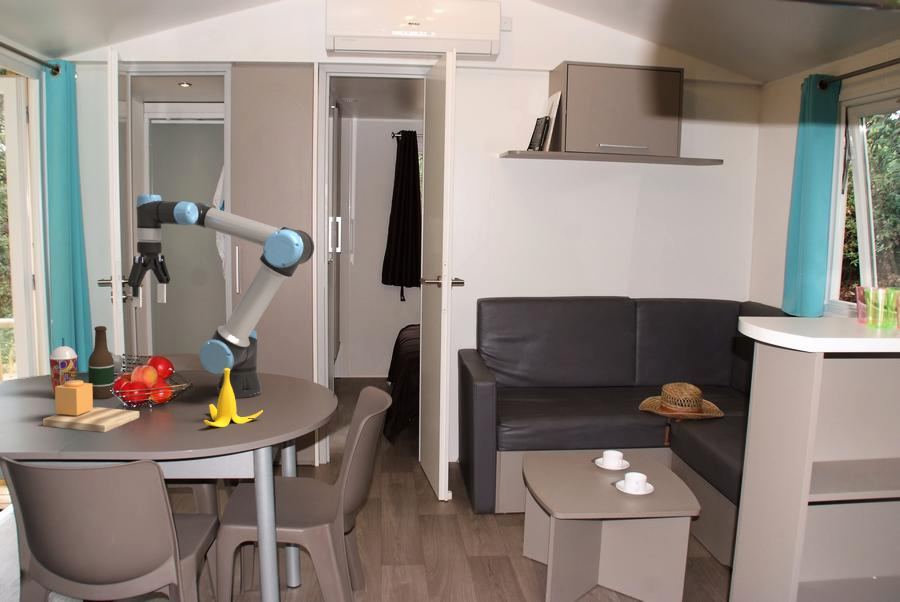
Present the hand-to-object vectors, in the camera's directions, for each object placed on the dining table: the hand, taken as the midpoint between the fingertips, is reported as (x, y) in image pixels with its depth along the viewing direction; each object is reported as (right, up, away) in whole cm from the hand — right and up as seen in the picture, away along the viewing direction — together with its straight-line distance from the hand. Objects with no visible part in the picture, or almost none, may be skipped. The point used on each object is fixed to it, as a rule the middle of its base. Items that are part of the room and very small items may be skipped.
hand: (149, 304), depth 239 cm
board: (-6, -35, -27) cm, 44 cm away
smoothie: (-28, -31, 0) cm, 42 cm away
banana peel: (+32, -36, -24) cm, 54 cm away
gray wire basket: (-23, -28, +30) cm, 47 cm away
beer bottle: (-17, -31, +1) cm, 36 cm away
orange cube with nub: (-11, -32, -26) cm, 43 cm away
